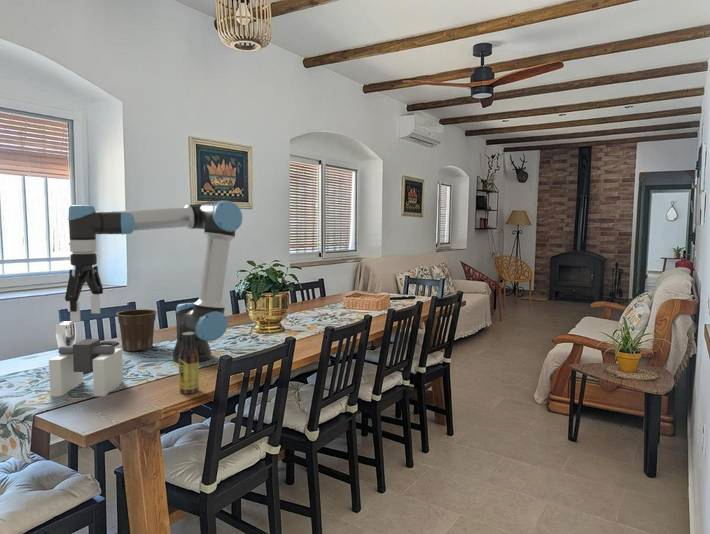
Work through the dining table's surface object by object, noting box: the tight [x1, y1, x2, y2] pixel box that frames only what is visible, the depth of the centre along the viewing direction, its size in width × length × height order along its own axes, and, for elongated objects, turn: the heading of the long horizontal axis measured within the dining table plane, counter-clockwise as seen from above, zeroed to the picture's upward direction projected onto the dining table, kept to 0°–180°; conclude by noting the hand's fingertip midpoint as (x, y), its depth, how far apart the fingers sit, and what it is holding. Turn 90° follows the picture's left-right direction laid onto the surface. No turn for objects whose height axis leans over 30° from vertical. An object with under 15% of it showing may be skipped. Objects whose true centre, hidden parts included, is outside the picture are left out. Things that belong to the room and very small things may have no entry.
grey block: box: [73, 338, 101, 373], centre depth 164 cm, size 5×8×9 cm, turn 3°
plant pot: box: [115, 309, 158, 352], centre depth 217 cm, size 16×16×16 cm
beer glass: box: [55, 321, 77, 348], centre depth 198 cm, size 7×7×15 cm
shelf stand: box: [48, 345, 124, 397], centre depth 165 cm, size 17×14×14 cm
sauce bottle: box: [178, 332, 200, 395], centre depth 163 cm, size 7×6×20 cm
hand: (86, 317), depth 163 cm, fingers open, 13 cm apart
